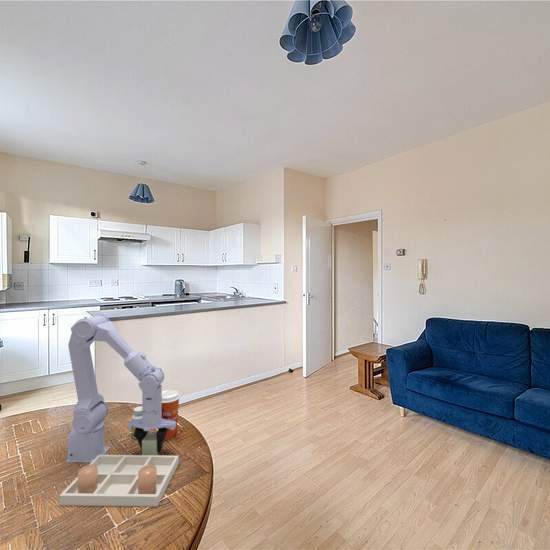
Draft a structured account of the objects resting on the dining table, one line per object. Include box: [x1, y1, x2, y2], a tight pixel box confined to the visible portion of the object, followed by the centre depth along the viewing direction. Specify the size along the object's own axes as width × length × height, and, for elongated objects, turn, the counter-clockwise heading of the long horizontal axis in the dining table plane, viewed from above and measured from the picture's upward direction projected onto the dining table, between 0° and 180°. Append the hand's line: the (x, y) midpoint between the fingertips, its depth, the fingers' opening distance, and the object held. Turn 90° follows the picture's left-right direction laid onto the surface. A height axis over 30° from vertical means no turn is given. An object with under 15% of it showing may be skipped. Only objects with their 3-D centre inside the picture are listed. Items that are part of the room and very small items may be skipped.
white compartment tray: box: [58, 454, 180, 508], centre depth 82 cm, size 24×16×3 cm
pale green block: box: [141, 432, 160, 455], centre depth 95 cm, size 4×4×6 cm
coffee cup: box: [157, 389, 181, 441], centre depth 106 cm, size 8×8×15 cm
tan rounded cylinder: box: [77, 464, 98, 494], centre depth 78 cm, size 4×4×6 cm
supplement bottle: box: [131, 405, 149, 440], centre depth 107 cm, size 5×5×10 cm
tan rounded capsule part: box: [138, 465, 157, 494], centre depth 78 cm, size 4×4×6 cm
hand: (151, 450), depth 95 cm, fingers closed on pale green block, 4 cm apart
